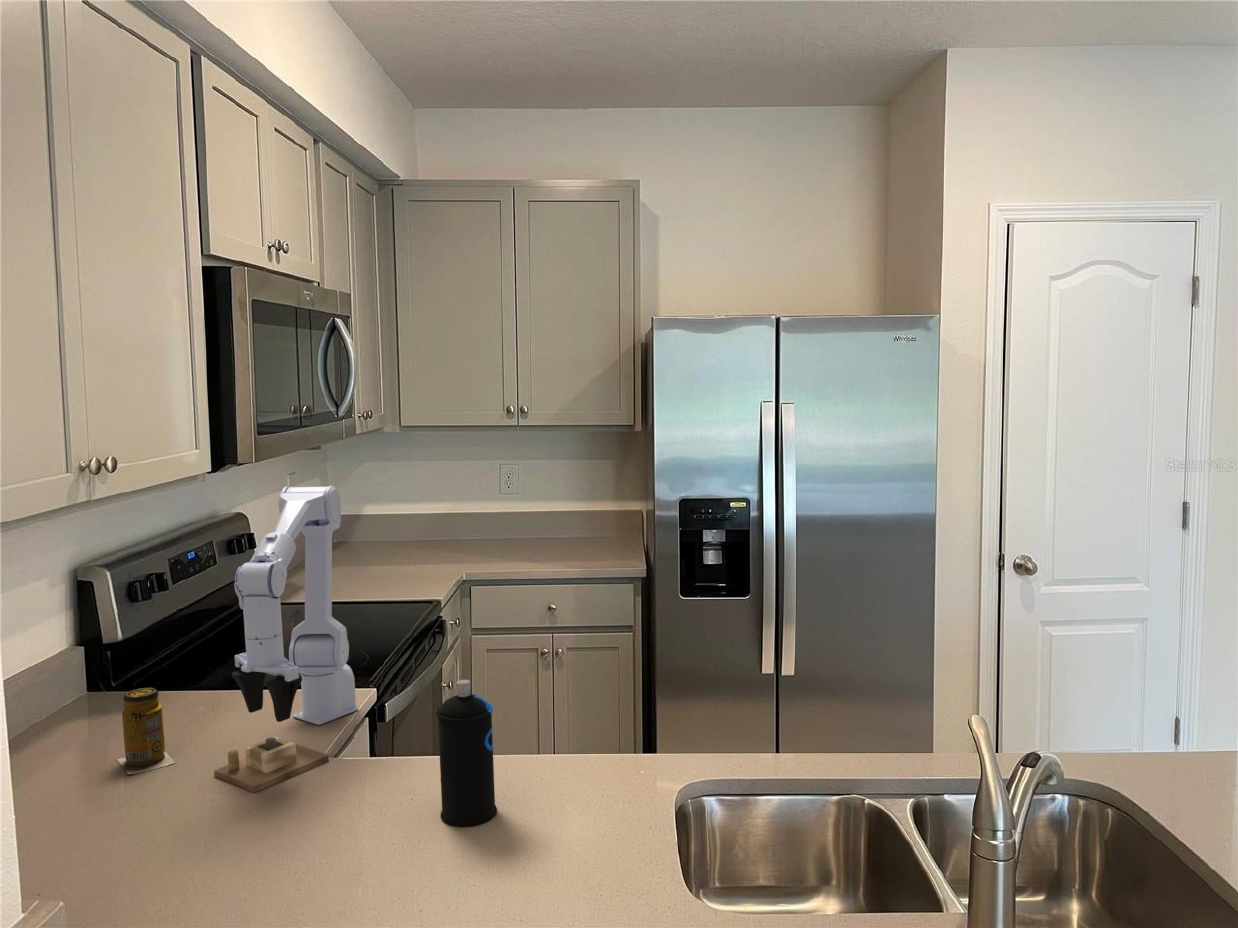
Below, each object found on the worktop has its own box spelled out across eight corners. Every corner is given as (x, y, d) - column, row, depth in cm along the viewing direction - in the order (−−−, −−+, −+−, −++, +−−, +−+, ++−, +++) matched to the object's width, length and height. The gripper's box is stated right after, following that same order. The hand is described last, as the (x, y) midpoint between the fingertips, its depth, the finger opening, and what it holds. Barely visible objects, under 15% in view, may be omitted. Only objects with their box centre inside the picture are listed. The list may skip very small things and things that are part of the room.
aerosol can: (450, 832, 132) (444, 695, 130) (433, 809, 139) (427, 678, 137) (505, 818, 136) (500, 684, 134) (486, 796, 143) (481, 669, 141)
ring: (276, 753, 159) (275, 736, 158) (296, 760, 156) (295, 743, 155) (246, 765, 154) (245, 747, 154) (266, 772, 151) (265, 755, 151)
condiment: (162, 748, 165) (157, 682, 163) (175, 763, 158) (170, 694, 157) (116, 760, 160) (111, 692, 159) (128, 776, 153) (122, 705, 152)
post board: (288, 746, 164) (286, 719, 163) (328, 760, 158) (327, 732, 157) (214, 776, 153) (212, 746, 152) (254, 792, 146) (252, 761, 146)
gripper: (215, 634, 154) (221, 714, 155) (269, 647, 145) (274, 732, 147) (254, 623, 159) (259, 701, 161) (307, 636, 151) (312, 717, 153)
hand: (269, 715), depth 154 cm, fingers open, 7 cm apart
